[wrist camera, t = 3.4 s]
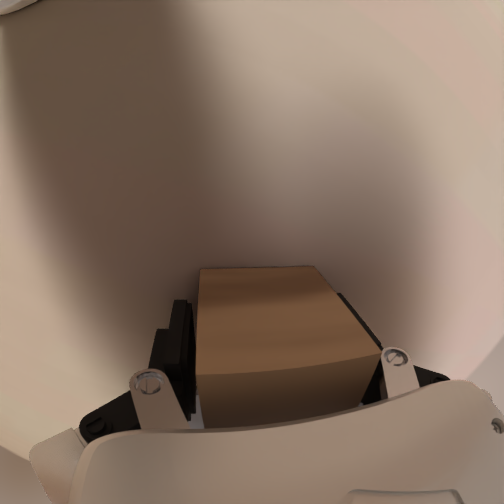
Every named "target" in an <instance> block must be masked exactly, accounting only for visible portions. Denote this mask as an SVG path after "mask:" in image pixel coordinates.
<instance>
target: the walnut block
mask: <svg viewBox="0 0 504 504" xmlns="http://www.w3.org/2000/svg"><path fill="white" fill-rule="evenodd" d="M381 355H382V351H381V350H380V349H379V347H378V346H377V345H376V344H375V342H374V341H373V340H372V338H371V337H370V336H369V334H368V333H367V332H366V331H365V329H364V328H363V327H362V325H361V324H360V323H359V322H358V320H357V319H356V318H355V316H354V315H353V314H352V313H351V311H350V310H349V309H348V308H347V306H346V305H345V304H344V303H343V301H342V300H341V299H340V298H339V296H338V295H337V294H336V293H335V291H334V290H333V289H332V288H331V286H330V285H329V284H328V283H327V282H326V280H325V279H324V278H323V277H322V275H321V274H320V273H319V272H318V271H317V269H316V268H315V267H314V266H302V267H268V268H226V269H200V279H199V295H198V315H197V339H196V381H197V388H198V394H199V401H200V407H201V413H202V418H203V424H204V429H210V428H232V427H246V426H257V425H266V424H274V423H281V422H288V421H295V420H301V419H307V418H312V417H317V416H322V415H327V414H332V413H336V412H341V411H345V410H349V409H353V408H357V407H358V406H359V404H360V402H361V400H362V398H363V395H364V393H365V391H366V389H367V387H368V385H369V383H370V380H371V378H372V376H373V374H374V371H375V369H376V367H377V364H378V362H379V360H380V357H381Z"/></svg>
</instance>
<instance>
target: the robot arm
mask: <svg viewBox="0 0 504 504" xmlns="http://www.w3.org/2000/svg"><path fill="white" fill-rule="evenodd" d="M36 1H37V0H0V15H2V14H8V13H10V12H13V11H16V10H19V9H21V8H23V7H25V6H27V5H30V4H32V3H34V2H36ZM336 294H337V295H338V296H339V298H340V299H341V300H342V301H343V303H344V304H345V305H346V306H347V308H348V309H349V310H350V311H351V313H352V314H353V315H354V316H355V318H356V319H357V320H358V322H359V323H360V324H361V325H362V327H363V328H364V329H365V331H366V332H367V333H368V334H369V336H370V337H371V338H372V340H373V341H374V342H375V344H376V345H377V346H378V347H379V349H380V350H381V351H382V355H381V357H380V360H379V362H378V364H377V367H376V369H375V371H374V374H373V376H372V378H371V380H370V383H369V385H368V387H367V389H366V391H365V393H364V395H363V398H362V400H361V402H360V404H359V407H357V408H353V409H349V410H345V411H341V412H336V413H332V414H327V415H322V416H317V417H312V418H307V419H301V420H295V421H288V422H281V423H274V424H266V425H257V426H246V427H232V428H210V429H191V428H190V426H189V424H188V421H191V414H196V342H195V332H194V321H193V310H192V303H187V300H174V304H173V309H172V314H171V319H170V324H169V329H157V331H156V335H155V339H154V344H153V348H152V353H151V357H150V362H149V367H148V369H144V370H141V371H138V372H137V373H135V374H134V375H133V376H132V377H131V379H130V382H129V387H130V391H128V392H126V393H124V394H123V395H121V396H119V397H117V398H116V399H114V400H112V401H110V402H109V403H107V404H105V405H103V406H102V407H100V408H98V409H96V410H94V411H93V412H91V413H89V414H87V415H86V416H85V417H83V419H82V420H81V422H80V425H79V427H78V428H76V429H74V430H73V428H70V429H68V430H66V431H64V432H61V433H59V434H57V435H55V436H53V437H51V438H49V439H47V440H45V441H42V442H40V443H38V444H36V445H35V446H33V447H32V449H31V450H30V454H29V458H30V462H31V464H32V466H33V469H34V471H35V473H36V475H37V477H38V479H39V481H40V483H41V485H42V487H43V488H44V491H45V492H46V494H47V496H48V498H49V499H50V501H51V503H52V504H504V416H503V414H502V413H501V412H500V410H499V409H498V408H497V407H496V405H495V404H494V403H493V402H492V397H491V395H490V394H489V393H488V392H487V391H485V390H483V389H480V388H479V387H478V386H476V385H475V384H474V383H472V382H470V381H466V380H450V379H449V378H448V377H447V376H445V375H443V374H440V373H436V372H433V371H430V370H427V369H423V368H420V367H417V366H414V365H413V363H412V360H411V357H410V355H409V354H408V353H407V352H406V351H404V350H403V349H401V348H398V347H387V348H385V349H383V347H382V346H381V343H380V341H379V340H378V339H377V337H376V336H375V335H374V334H373V332H372V331H371V330H370V329H369V327H368V326H367V325H366V324H365V322H364V321H363V320H362V319H361V317H360V316H359V315H358V314H357V312H356V311H355V310H354V309H353V307H352V306H351V305H350V304H349V302H348V301H347V300H346V299H345V298H344V296H343V295H342V294H341V293H336Z"/></svg>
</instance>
